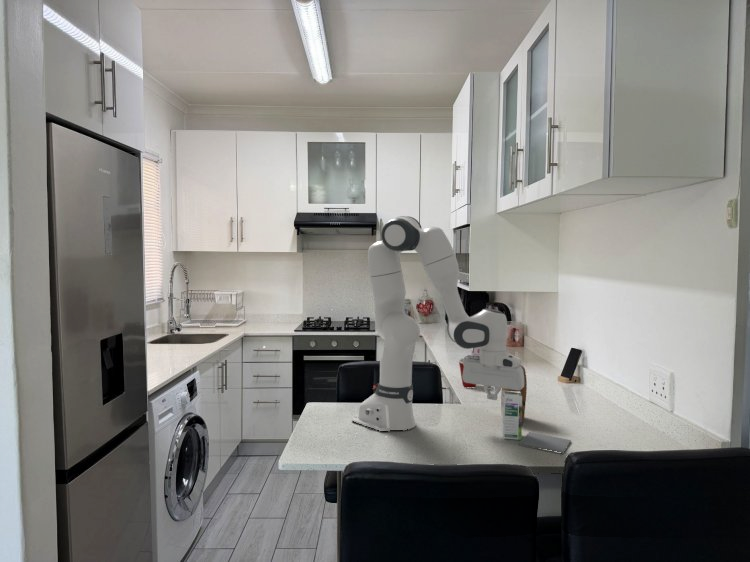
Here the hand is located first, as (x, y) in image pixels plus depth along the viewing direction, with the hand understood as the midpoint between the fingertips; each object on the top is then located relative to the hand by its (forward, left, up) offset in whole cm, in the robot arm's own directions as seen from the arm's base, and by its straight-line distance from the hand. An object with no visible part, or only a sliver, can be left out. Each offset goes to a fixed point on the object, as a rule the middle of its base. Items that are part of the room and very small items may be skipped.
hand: (492, 399), depth 163 cm
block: (+2, +17, -11) cm, 21 cm away
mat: (+17, 0, -11) cm, 21 cm away
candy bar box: (-34, +85, -12) cm, 92 cm away
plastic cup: (-28, +52, -11) cm, 60 cm away
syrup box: (+7, 0, -11) cm, 13 cm away
